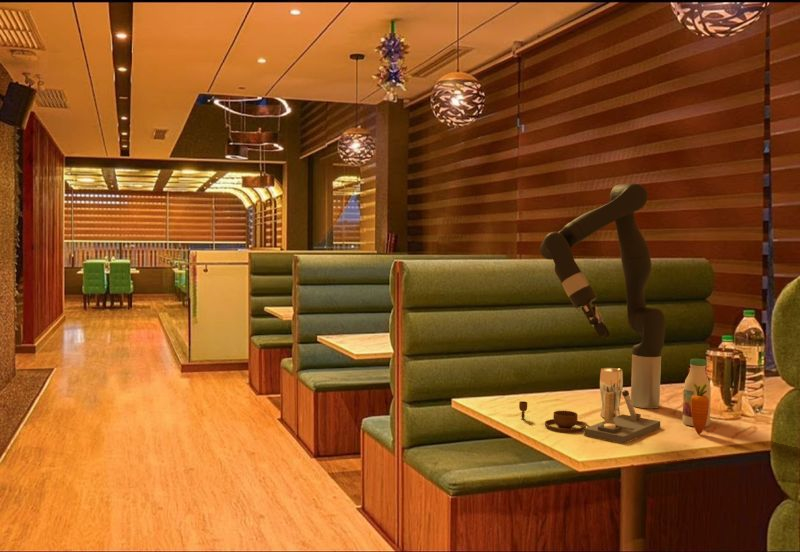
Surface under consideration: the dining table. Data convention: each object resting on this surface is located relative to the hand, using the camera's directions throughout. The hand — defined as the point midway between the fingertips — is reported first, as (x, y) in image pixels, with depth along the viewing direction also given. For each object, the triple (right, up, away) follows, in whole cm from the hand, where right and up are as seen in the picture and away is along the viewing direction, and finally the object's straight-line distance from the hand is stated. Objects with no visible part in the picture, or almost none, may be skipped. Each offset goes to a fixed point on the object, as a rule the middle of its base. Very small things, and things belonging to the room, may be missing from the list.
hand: (605, 336), depth 225 cm
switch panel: (+2, -27, -10) cm, 29 cm away
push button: (-4, -25, -17) cm, 30 cm away
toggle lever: (+8, -25, -4) cm, 26 cm away
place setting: (-15, -27, -3) cm, 31 cm away
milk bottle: (+27, -27, -1) cm, 38 cm away
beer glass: (+4, -26, +8) cm, 27 cm away
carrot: (+23, -27, -12) cm, 38 cm away
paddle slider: (-2, -25, -10) cm, 27 cm away
